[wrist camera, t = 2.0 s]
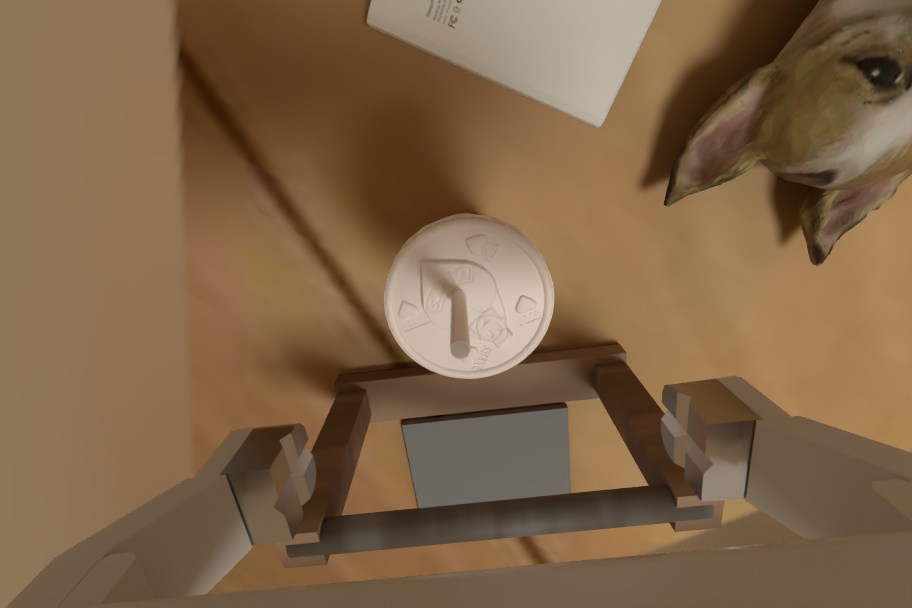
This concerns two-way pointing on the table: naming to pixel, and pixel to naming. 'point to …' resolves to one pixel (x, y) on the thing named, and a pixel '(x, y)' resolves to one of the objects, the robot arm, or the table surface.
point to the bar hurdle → (517, 386)
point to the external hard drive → (529, 44)
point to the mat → (489, 455)
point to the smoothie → (468, 296)
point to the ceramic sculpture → (817, 119)
